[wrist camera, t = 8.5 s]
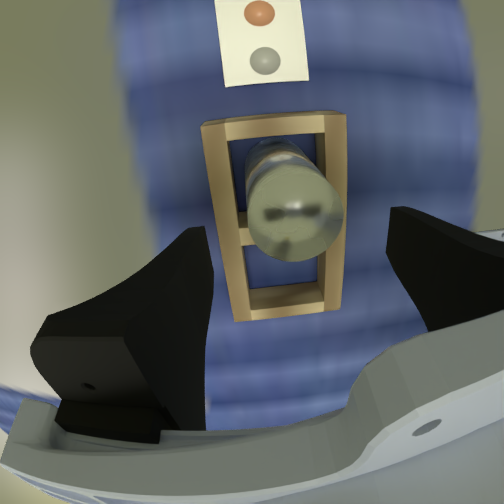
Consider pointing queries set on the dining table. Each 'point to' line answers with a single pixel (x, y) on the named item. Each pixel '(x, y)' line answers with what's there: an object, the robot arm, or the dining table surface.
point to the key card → (261, 41)
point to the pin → (289, 202)
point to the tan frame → (236, 223)
